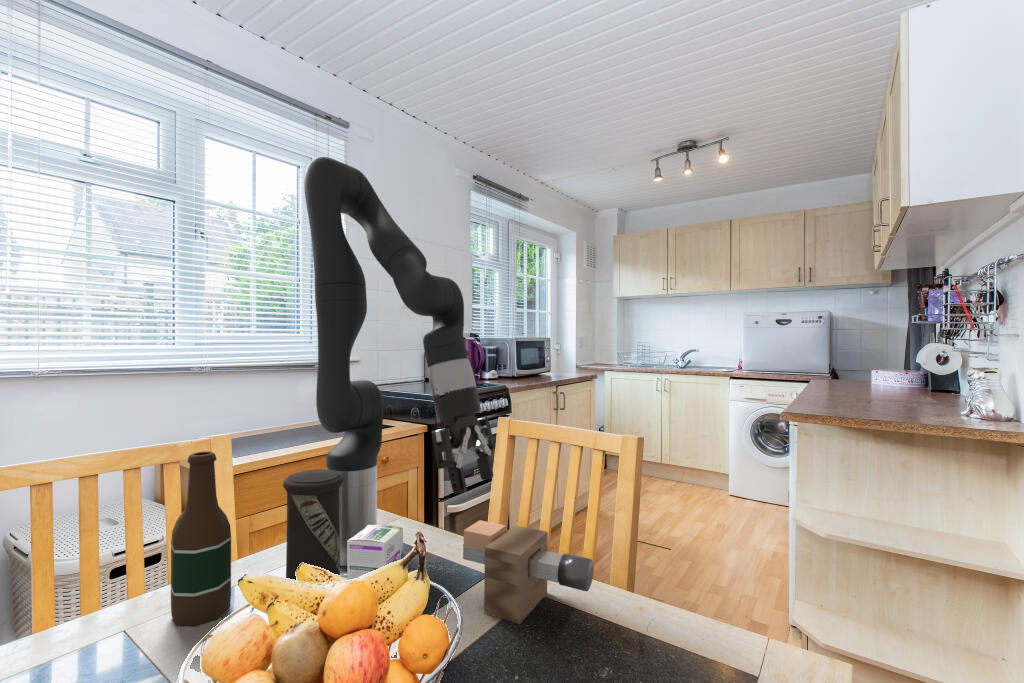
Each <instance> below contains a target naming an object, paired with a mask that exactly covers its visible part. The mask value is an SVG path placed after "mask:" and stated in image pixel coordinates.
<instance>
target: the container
mask: <svg viewBox="0 0 1024 683" xmlns="http://www.w3.org/2000/svg"><path fill="white" fill-rule="evenodd" d="M342 483H343V476H342V475H341V474H340V473H339V472H337V471H335V470H329V469H326V468H321V469H320V468H319V469H318V468H317V469H309V470H303V471H302V470H301V471H299V472H294V473H291V474H289V475H287V477H285V479H284V480H283V483H282V486H283V489H284V490H285V492H286V556H285V557H286V559H285V560H286V561H285V564H286V565H285V566H286V568H285V579H286V578H290V579H295V580H296V576H295V571H296V569H297V567H298V566H299V564H300V563H301V562H304V563H307V564H310V565H314V566H318V567H321V568H324V569H326V570H329V571H330V572H332V573H334V574H338V575H340V576H341V566H340V526H339V488H340V486H341V484H342Z"/></svg>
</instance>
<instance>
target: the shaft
mask: <svg viewBox="0 0 1024 683" xmlns="http://www.w3.org/2000/svg"><path fill="white" fill-rule="evenodd" d="M462 548H463V549H462V560H465V561H470V562H473V563H478V564H480V565H481V564H482V565H485V551H483V550H479V549H475V548H471V547H467V546H464V543H463V544H462ZM528 575H529V576H533V577H537V578H541V579H545V580H547V581H549V582H553V583H556V584H557V583H558V584H559V585H560V586H563V587H567V588H571V589H575V590H579V591H583V592H588V591H589V590H590V589H591V586H592V582H593V579H594V562H593V559H592V558H588V557H584V556H579V555H574V554H571V553H570V554H569V553H558V552H553V551H548V550H547V551H544V550H539V549H538V550H537V551H536V552H535V553H534V554H533V555H531V556H530V557H529V558H528Z"/></svg>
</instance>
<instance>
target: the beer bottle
mask: <svg viewBox="0 0 1024 683" xmlns="http://www.w3.org/2000/svg"><path fill="white" fill-rule="evenodd" d="M186 460H187V461H186V462H187V463H189V467H188V468H189V471H188V480H187V482H188V483H187V494H186V502H185V506H184V509H183V511H182V512H181V514H180V515H179V516H178V517H177V519H176V522H175V523H174V526H173V528H172V531H171V540H170V541H171V542H170V613H171V614H170V615H171V618H172V621H173V622H174V625H175V626H176V627H184V628H185V627H189V628H191V627H192V628H195V627H196V628H197V627H199V626H202V625H205V624H208V623H211V622H214V621H217V620H218V619H220V618H221V617H222V616H223V614H225V613H227V611H228V610H229V609H230V607H231V600H232V530H231V523H230V522H229V519H228V517H227V515H226V512H224V511H223V509H222V508H221V507H220V506H219V501H218V496H217V484H216V469H215V461H217V455H216V453H215V452H212V451H199V452H195V453H192V454H189V455H188V458H187V459H186Z"/></svg>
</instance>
